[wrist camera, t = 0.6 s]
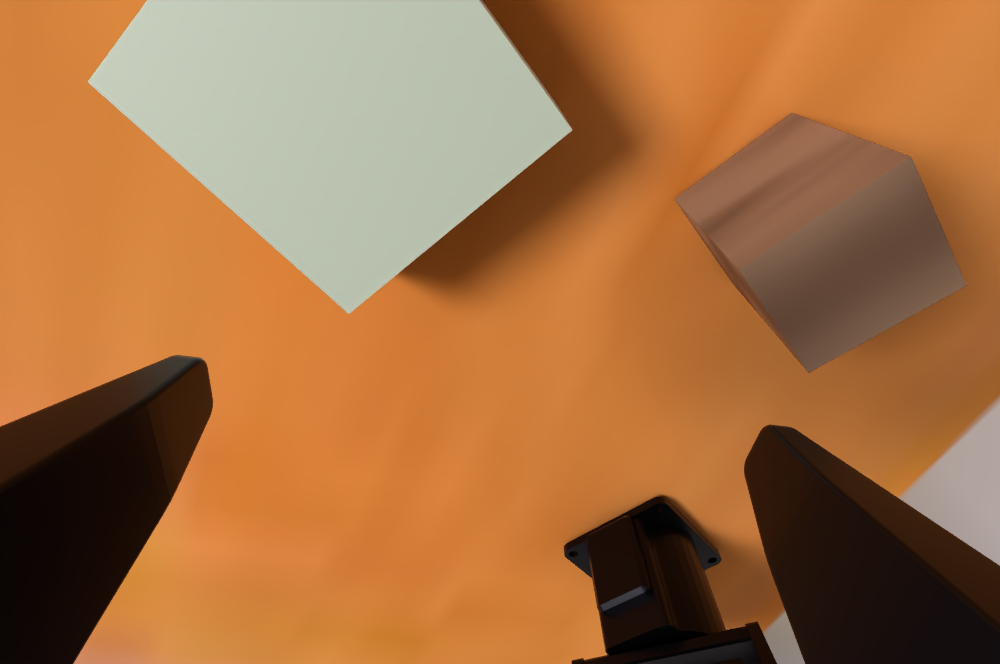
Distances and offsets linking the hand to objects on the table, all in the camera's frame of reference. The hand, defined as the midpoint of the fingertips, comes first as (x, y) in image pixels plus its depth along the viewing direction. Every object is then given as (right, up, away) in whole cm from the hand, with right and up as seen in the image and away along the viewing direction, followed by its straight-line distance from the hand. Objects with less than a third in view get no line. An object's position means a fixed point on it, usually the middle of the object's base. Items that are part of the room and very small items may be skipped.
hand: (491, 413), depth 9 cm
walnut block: (+10, +6, +11) cm, 16 cm away
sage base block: (-4, +9, +9) cm, 14 cm away
